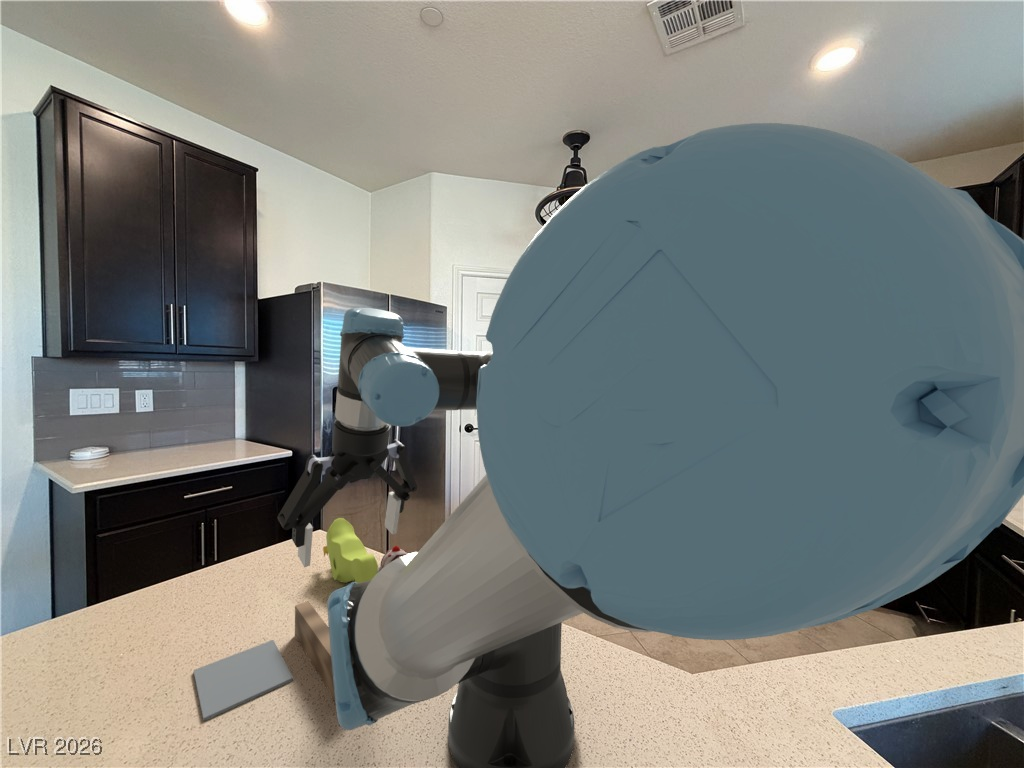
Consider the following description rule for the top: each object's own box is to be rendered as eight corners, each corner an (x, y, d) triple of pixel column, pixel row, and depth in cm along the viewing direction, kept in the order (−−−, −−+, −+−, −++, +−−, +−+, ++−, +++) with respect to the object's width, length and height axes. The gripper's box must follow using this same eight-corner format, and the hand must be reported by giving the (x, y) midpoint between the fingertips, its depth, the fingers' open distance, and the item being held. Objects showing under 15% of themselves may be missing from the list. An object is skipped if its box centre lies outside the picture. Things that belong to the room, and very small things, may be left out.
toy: (322, 603, 86) (357, 608, 72) (315, 523, 90) (347, 514, 76) (351, 593, 90) (390, 595, 77) (343, 517, 94) (378, 507, 81)
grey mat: (293, 680, 56) (293, 677, 56) (203, 721, 49) (203, 718, 49) (273, 642, 64) (273, 639, 64) (193, 672, 57) (193, 670, 57)
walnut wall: (356, 701, 53) (356, 663, 53) (340, 709, 51) (341, 671, 51) (307, 630, 67) (308, 600, 67) (294, 635, 66) (295, 605, 66)
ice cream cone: (402, 650, 63) (403, 554, 62) (369, 644, 64) (370, 551, 64) (417, 628, 68) (419, 540, 68) (387, 623, 69) (388, 537, 69)
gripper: (424, 401, 68) (408, 507, 74) (253, 420, 50) (250, 559, 56) (450, 418, 63) (431, 531, 69) (272, 447, 45) (266, 596, 51)
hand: (350, 544), depth 62 cm, fingers open, 13 cm apart
